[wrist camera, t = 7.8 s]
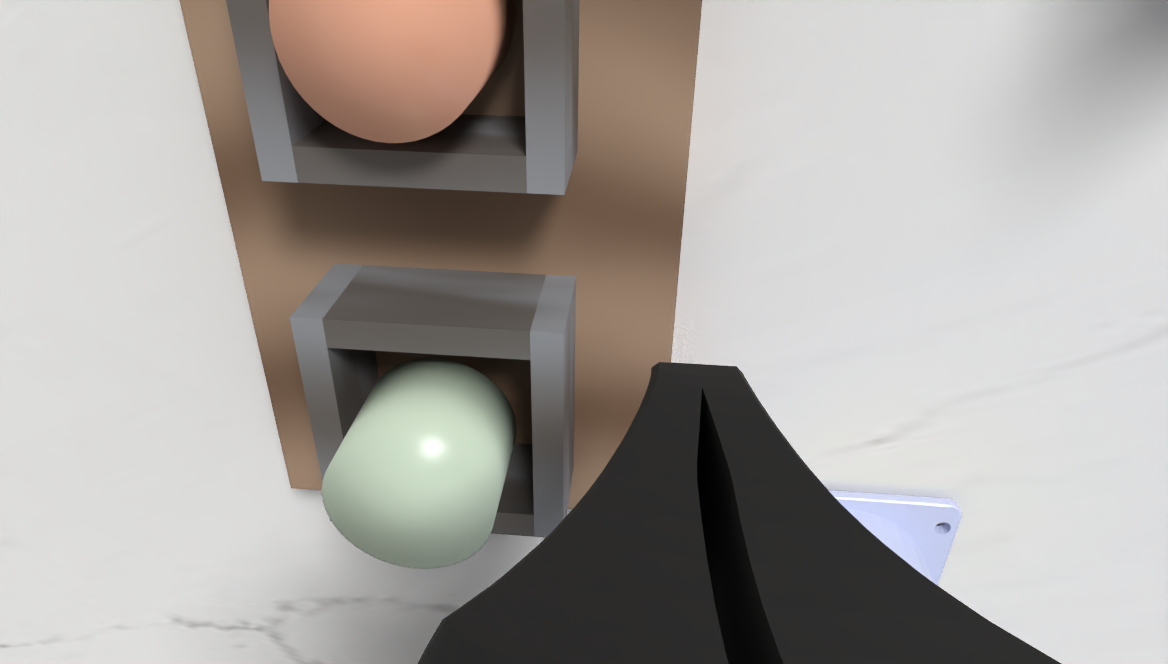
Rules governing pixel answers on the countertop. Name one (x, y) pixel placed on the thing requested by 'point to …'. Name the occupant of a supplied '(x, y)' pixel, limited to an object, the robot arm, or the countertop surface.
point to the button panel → (467, 234)
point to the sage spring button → (423, 465)
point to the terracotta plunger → (391, 60)
